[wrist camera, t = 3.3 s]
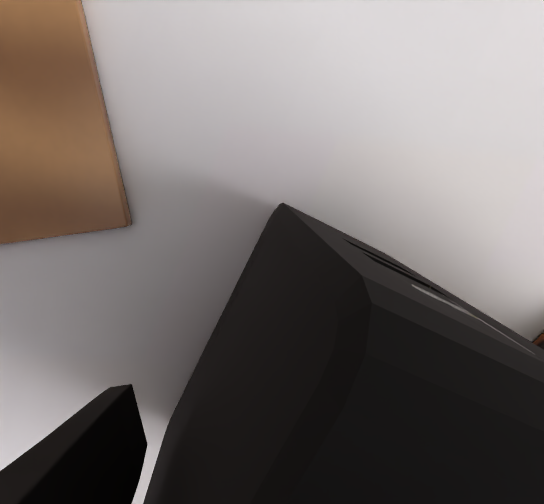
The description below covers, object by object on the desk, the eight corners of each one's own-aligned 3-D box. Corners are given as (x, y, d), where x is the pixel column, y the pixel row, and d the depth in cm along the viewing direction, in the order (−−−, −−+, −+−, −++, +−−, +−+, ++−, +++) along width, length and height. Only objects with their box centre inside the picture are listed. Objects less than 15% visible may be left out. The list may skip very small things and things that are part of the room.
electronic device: (377, 248, 13) (758, 478, 3) (259, 457, 15) (286, 1005, 5) (277, 198, 12) (390, 307, 3) (166, 423, 14) (-10, 984, 4)
